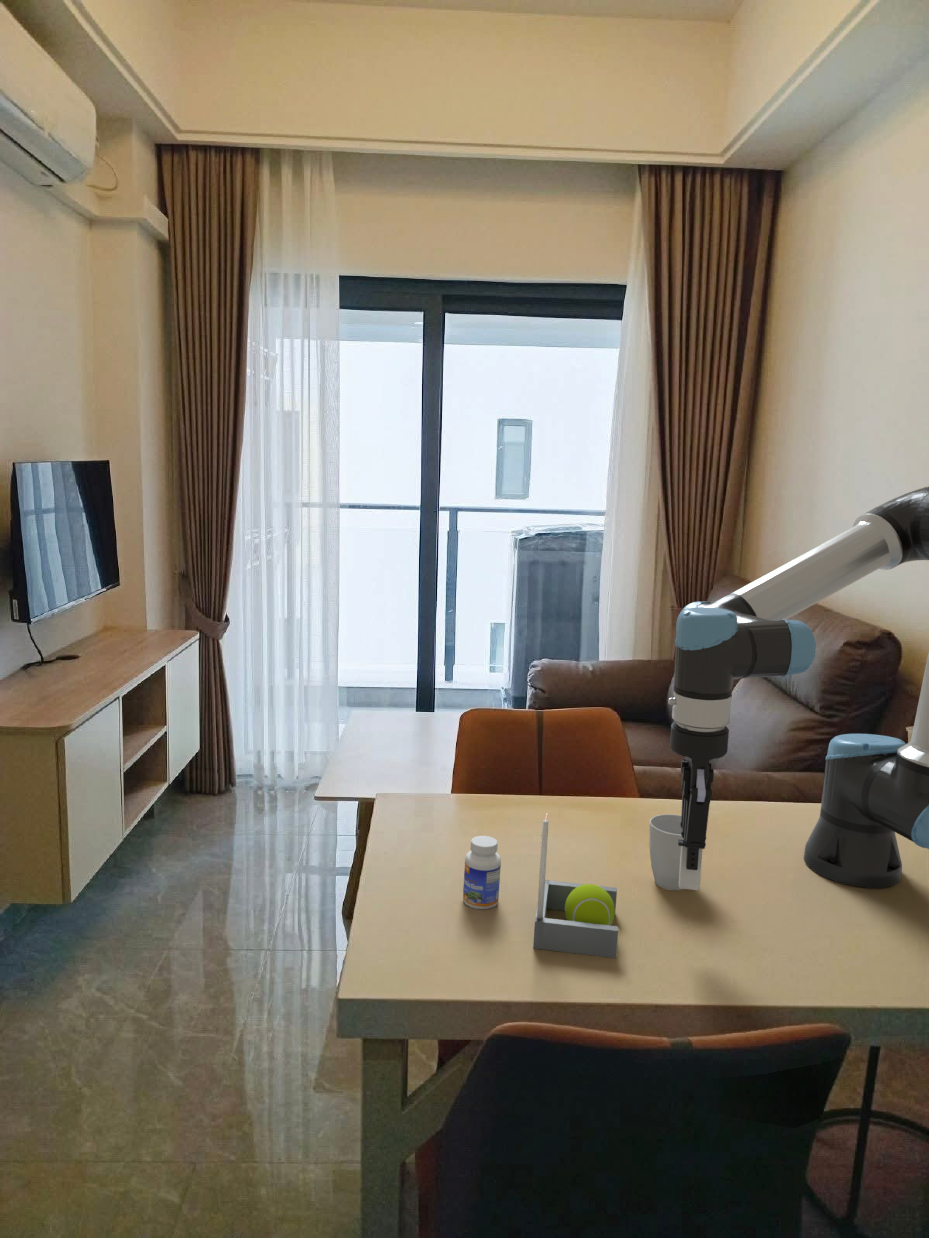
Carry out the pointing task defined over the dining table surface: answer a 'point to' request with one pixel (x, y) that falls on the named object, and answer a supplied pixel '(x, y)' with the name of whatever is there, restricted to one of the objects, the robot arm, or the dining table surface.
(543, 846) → the gray u frame
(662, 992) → the dining table surface
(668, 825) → the cup
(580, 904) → the tennis ball
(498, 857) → the pill bottle
